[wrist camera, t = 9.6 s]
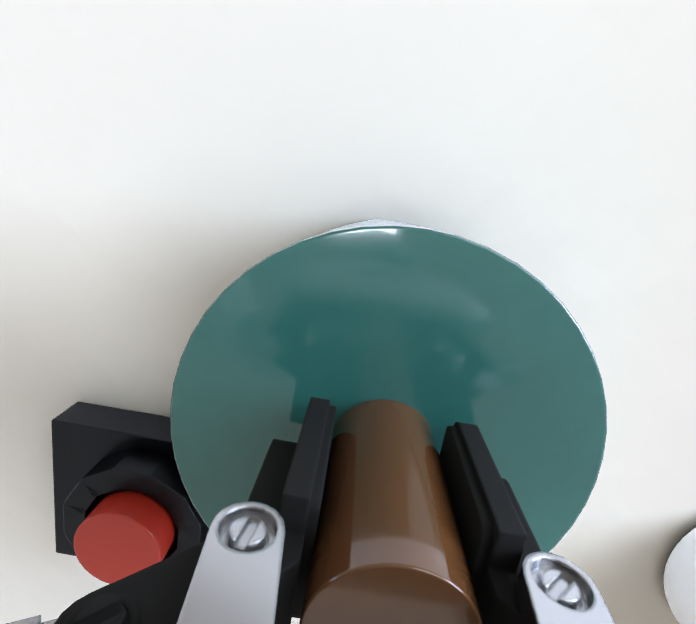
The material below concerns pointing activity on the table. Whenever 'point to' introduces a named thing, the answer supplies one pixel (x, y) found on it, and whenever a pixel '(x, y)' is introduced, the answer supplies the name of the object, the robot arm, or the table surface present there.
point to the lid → (391, 406)
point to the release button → (123, 536)
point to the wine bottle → (682, 579)
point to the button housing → (117, 469)
